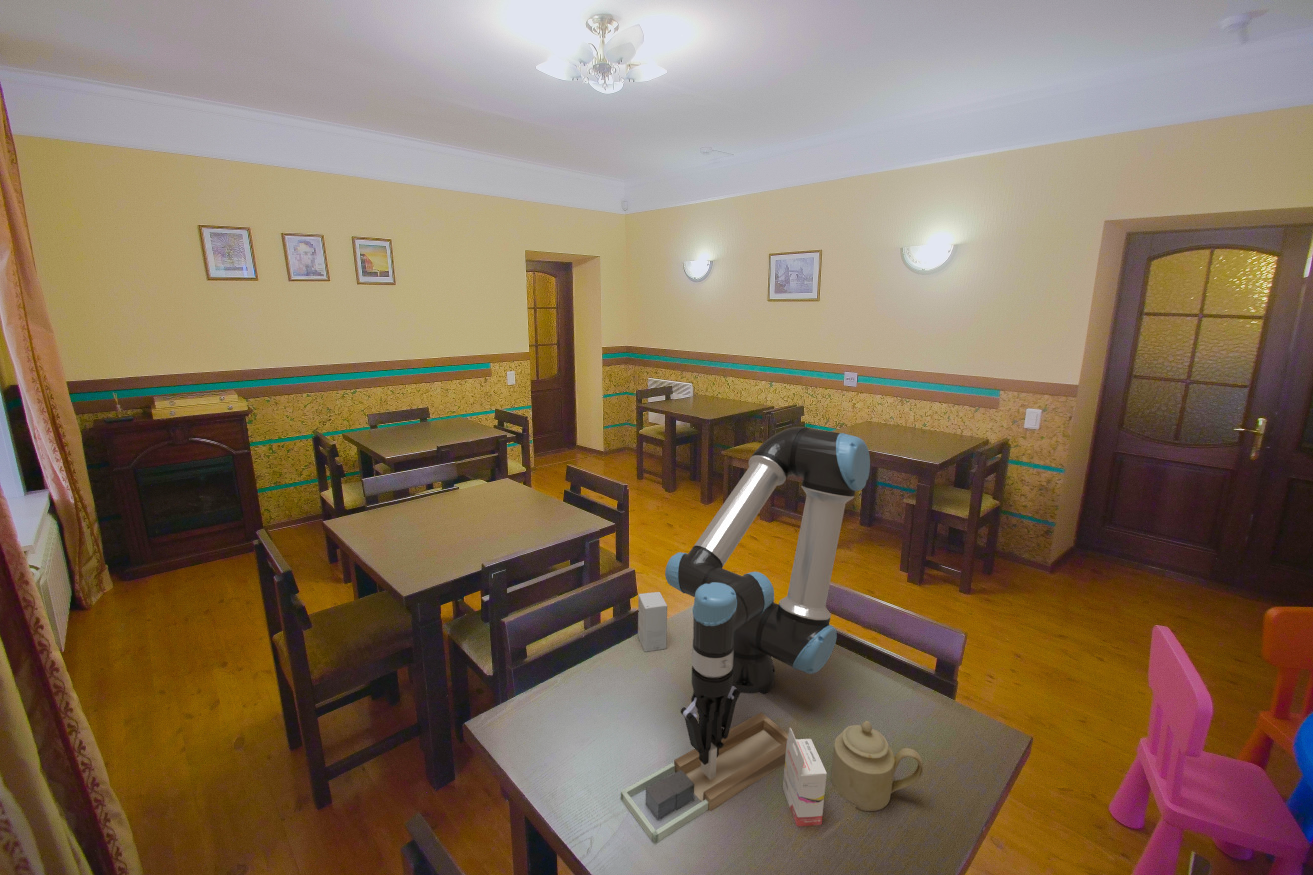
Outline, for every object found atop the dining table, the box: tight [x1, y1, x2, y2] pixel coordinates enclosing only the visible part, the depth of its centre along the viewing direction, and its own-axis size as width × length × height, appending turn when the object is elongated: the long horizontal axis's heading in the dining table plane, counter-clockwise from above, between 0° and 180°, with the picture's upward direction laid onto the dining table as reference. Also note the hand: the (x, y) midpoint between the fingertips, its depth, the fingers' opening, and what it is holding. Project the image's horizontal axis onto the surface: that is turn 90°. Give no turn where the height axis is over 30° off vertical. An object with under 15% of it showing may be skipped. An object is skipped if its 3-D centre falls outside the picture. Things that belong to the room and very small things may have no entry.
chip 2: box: [663, 770, 695, 811], centre depth 104 cm, size 4×4×4 cm
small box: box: [637, 591, 668, 652], centre depth 153 cm, size 8×6×13 cm
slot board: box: [673, 712, 789, 812], centre depth 113 cm, size 11×24×4 cm, turn 125°
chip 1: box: [645, 778, 677, 821], centre depth 102 cm, size 4×4×4 cm
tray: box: [620, 762, 709, 845], centre depth 103 cm, size 11×12×2 cm
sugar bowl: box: [830, 720, 925, 812], centre depth 107 cm, size 15×11×15 cm
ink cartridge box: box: [782, 726, 828, 827], centre depth 102 cm, size 9×5×15 cm, turn 5°
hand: (708, 772), depth 108 cm, fingers closed
